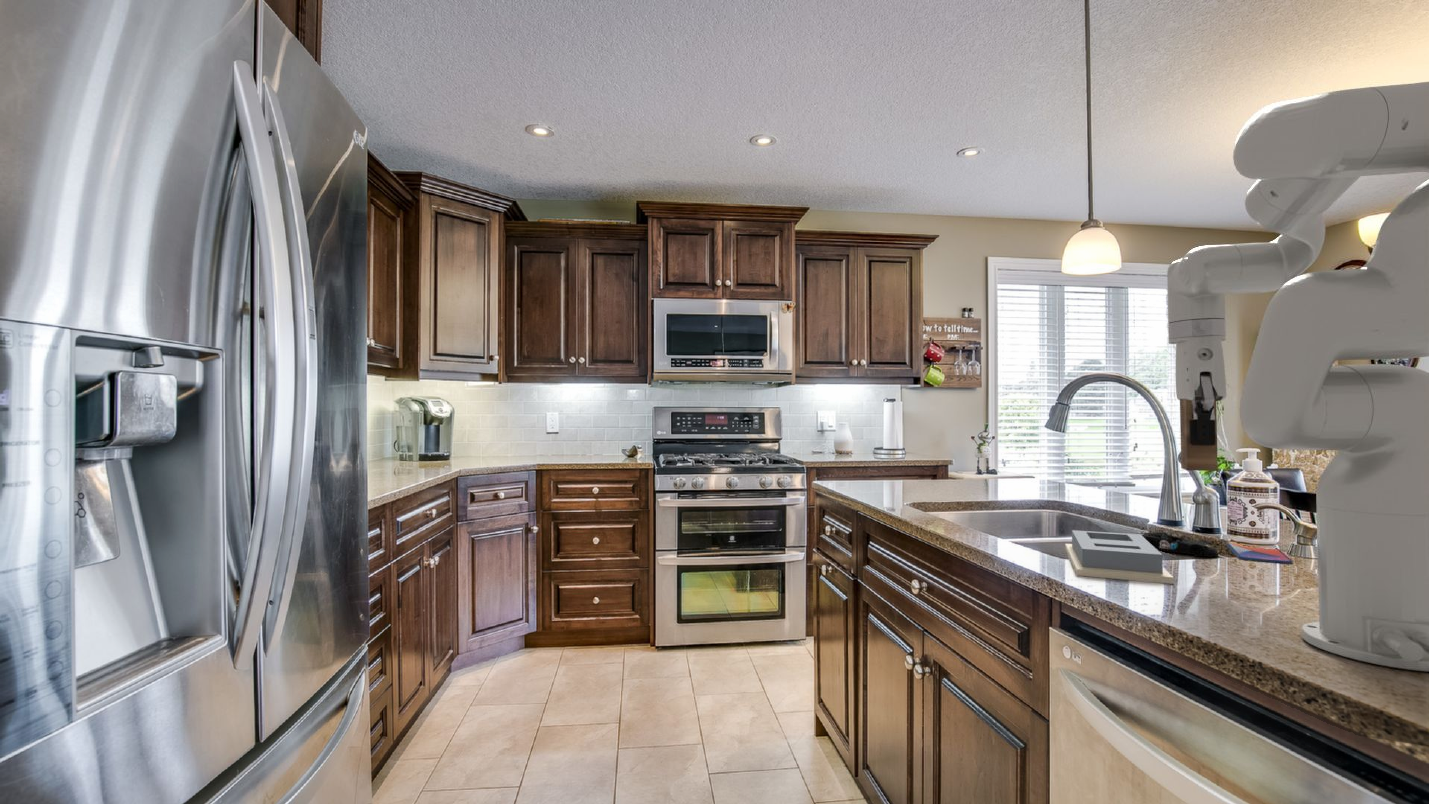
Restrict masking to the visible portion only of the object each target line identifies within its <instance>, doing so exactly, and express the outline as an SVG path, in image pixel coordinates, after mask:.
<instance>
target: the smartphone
mask: <svg viewBox="0 0 1429 804" xmlns="http://www.w3.org/2000/svg"><path fill="white" fill-rule="evenodd" d="M1230 541H1231V540H1227V541H1225V546H1226V547H1227V549H1228V550H1230V552H1231V553H1232V554H1233V555H1235V557H1236V558H1237V560H1238V559H1239V560H1242V561H1248V560H1252V562H1260V563H1261V562H1262V563H1265V562H1267V563H1274V564H1275V563H1276V564H1285V565H1293V560H1292V558H1290V557H1288V556H1287V555H1286V554H1285V553H1284V552H1283V551H1282V550H1280V549H1279V548H1278V547H1277V548H1275V549H1262V548H1254V547H1248V546H1243V545H1240V544H1237V543H1233V542H1230Z"/></svg>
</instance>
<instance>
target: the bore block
mask: <svg viewBox="0 0 1429 804" xmlns="http://www.w3.org/2000/svg"><path fill="white" fill-rule="evenodd" d="M1142 535H1143V534H1140V533H1139V534H1137V533H1123V532H1121V533H1120V532H1107V531H1088V530H1076V529H1075V530H1074V529H1071V541H1072V542H1071V543H1065V544H1064V545H1065V546H1064V547H1065V551H1066V553H1067V556H1068V558H1069V561H1070V562H1071V565H1072V568H1073V570H1074V572H1075V575H1076V576H1077V577H1078V576H1079V577H1080V576H1081V577H1088V578H1089V577H1092V578H1102V579H1103V578H1104V579H1113V580H1116V579H1117V580H1125V581H1137V582H1149V583H1160V584H1170V585H1172V584H1173V585H1174V583H1175V582H1174V580H1175V579H1174V576H1173V575H1172V574H1171V573H1170V572H1169V571H1168V570H1166V568H1165V567H1164V566H1163V553H1161V552H1160V550H1158V549H1156V548H1155V547H1154V546H1152V545H1151V544H1150V543H1149V542H1148V541H1147V540H1146V539H1145V538H1144V537H1143V536H1142Z"/></svg>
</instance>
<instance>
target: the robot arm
mask: <svg viewBox="0 0 1429 804" xmlns="http://www.w3.org/2000/svg"><path fill="white" fill-rule="evenodd" d="M1233 148H1234V149H1233V153H1232V154H1233V155H1232V156H1233V157H1232V159H1233V165H1234V167H1235V169H1236V171H1237V172H1238V173H1239V174H1240V175H1241V176H1243V177H1244V178H1247V179H1250V180H1256V181H1255V183H1254V184H1252V186H1251V187H1250V188H1249V190H1248V191H1247V193H1246V195H1245V198H1244V199H1245V200H1244V206H1245V210H1246V212H1247V214H1248V216H1249V217H1250V218H1251V219H1252V220H1253V221H1254V222H1255V223H1256V224H1257V225H1259V226H1260V227H1263V228H1264V229H1267V230H1269V231H1271V232H1273V233H1276V234H1278V235H1279V236H1278V237H1276V238H1275V239H1274V240H1272V241H1269V242H1249V243H1230V244H1228V243H1227V244H1212V245H1211V244H1210V245H1201V246H1198V247H1195V248H1192V249H1191V250H1189V251H1188V252H1187V253H1186V254H1185V255H1184V256H1183V257H1182V258H1180V259H1177V260H1175V261H1172V263H1170V264H1169V265H1168V267H1167V273H1166V274H1167V275H1166V277H1167V278H1166V279H1167V324H1168V325H1167V326H1168V329H1167V330H1168V333H1167V334H1168V344H1170V345H1176V346H1175V394H1176V395H1175V396H1176V398H1177V400H1179V401H1180V399H1185V398H1186V400H1188V401H1191V412H1192V420H1190V444H1191V445H1215V420H1214V419H1215V414H1214V396H1216V402H1222V401H1223V400H1225V399H1226V398H1227V383H1226V382H1227V381H1226V370H1225V359H1224V349H1223V344H1222V342H1224V341H1226V340H1227V337H1226V336H1227V335H1226V334H1227V331H1226V329H1227V328H1226V327H1227V326H1226V300H1225V299H1226V297H1225V296H1226V295H1235V294H1236V295H1237V294H1238V295H1239V294H1240V295H1241V294H1242V295H1243V294H1263V293H1264V294H1265V293H1271V292H1275V291H1277V292H1276V293H1275V294H1274V295H1273V296H1272V298H1271V300H1270V301H1269V303H1268V305H1267V307H1266V310H1265V311H1264V315H1263V317H1262V321H1261V324H1260V326H1259V327H1260V328H1259V331H1258V333H1257V337H1256V341H1255V345H1254V348H1253V352H1252V354H1251V355H1252V356H1251V359H1250V362H1249V366H1248V370H1247V373H1246V378H1245V380H1244V384H1243V388H1242V392H1241V397H1240V403H1239V418H1240V423H1241V426H1242V429H1243V431H1244V434H1246V435H1247V437H1248V438H1249V439H1250V440H1251V441H1253V442H1254V443H1256V444H1257V445H1260V446H1262V447H1265V448H1269V449H1273V450H1274V449H1275V450H1287V451H1288V450H1289V451H1337V452H1336V453H1335V455H1334V456H1333V457H1332V459H1331V460H1330V461H1329V462H1328V464H1327V465H1326V467H1325V469H1323V472H1322V473H1321V475H1320V477H1319V480H1318V482H1317V486H1316V500H1315V501H1316V540H1317V541H1316V543H1317V545H1316V546H1317V575H1318V577H1317V580H1318V581H1317V583H1318V616H1319V618H1318V619H1319V620H1318V621H1314V622H1308V623H1305V624H1303V625H1302V626H1301V627H1300V631H1301V632H1300V633H1301V638H1302V639H1303V640H1304V641H1305V642H1306V643H1308V644H1309V645H1312V646H1314V647H1316V648H1318V649H1320V650H1323V651H1326V652H1328V653H1331V654H1335V655H1339V656H1341V657H1344V658H1349V659H1350V660H1351V659H1352V660H1356V661H1359V662H1364V663H1369V664H1373V665H1379V666H1384V667H1389V668H1396V669H1402V670H1410V671H1417V672H1429V372H1428V371H1426V370H1423V369H1420V368H1416V367H1413V366H1407V365H1399V364H1389V363H1388V364H1386V363H1385V364H1384V363H1379V364H1378V363H1377V364H1376V363H1373V364H1372V363H1369V364H1365V363H1364V364H1362V363H1361V364H1335V363H1336V362H1338V361H1362V360H1363V361H1364V360H1368V361H1369V360H1370V361H1371V360H1400V359H1402V360H1404V359H1405V360H1406V359H1415V358H1416V359H1417V358H1426V357H1429V178H1428V179H1427V180H1425V181H1424V182H1423V183H1421V184H1420V185H1418V186H1417V187H1416V188H1415V189H1413V190H1412V191H1411V192H1409V193H1408V195H1406V196H1405V197H1404V198H1403V199H1402V201H1400V202H1399V203H1398V204H1397V205H1396V206H1395V207H1394V208H1393V210H1391V212H1390V213H1389V214H1388V215H1387V217H1386V218H1385V220H1384V221H1383V222H1382V224H1381V226H1380V228H1379V231H1378V234H1377V238H1376V241H1375V243H1374V247H1373V249H1372V252H1371V254H1370V256H1369V257H1368V259H1367V261H1366V263H1365V264H1364V265H1363V266H1361V267H1360V268H1353V269H1352V268H1351V269H1333V270H1332V269H1329V270H1320V271H1313V272H1307V273H1305V271H1307V270H1308V269H1309V268H1310V267H1311V266H1312V265H1313V264H1314V262H1316V260H1317V259H1318V257H1319V255H1320V253H1321V252H1322V248H1323V245H1324V242H1325V237H1326V222H1325V219H1324V216H1323V214H1324V213H1325V212H1327V210H1328V209H1330V207H1331V206H1332V205H1333V204H1334V203H1335V202H1337V200H1338V199H1339V198H1341V196H1342V195H1343V194H1345V192H1347V191H1348V189H1350V187H1352V186H1353V185H1354V184H1355V182H1357V181H1358V180H1359V179H1360V178H1361V177H1368V176H1369V177H1370V176H1383V175H1399V174H1408V173H1410V174H1413V173H1428V174H1429V81H1424V82H1423V81H1422V82H1414V83H1404V84H1403V83H1401V84H1391V85H1390V84H1389V85H1380V86H1379V85H1378V86H1368V87H1360V88H1359V87H1358V88H1357V87H1356V88H1349V89H1341V90H1334V91H1329V92H1325V93H1318V94H1314V95H1310V96H1306V97H1301V98H1296V99H1292V100H1291V99H1290V100H1286V101H1280V102H1276V103H1272V104H1270V105H1267V106H1265V107H1264V108H1261V110H1258V112H1256V113H1255V114H1254V115H1253V116H1251V118H1250V119H1249V120H1248V121H1246V123H1245V125H1244V126H1243V127H1242V129H1241V130H1240V132H1239V134H1238V135H1237V137H1236V141H1235V144H1234V147H1233ZM1195 397H1202V400H1195ZM1197 406H1198V407H1197Z"/></svg>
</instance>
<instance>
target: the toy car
mask: <svg viewBox="0 0 1429 804" xmlns="http://www.w3.org/2000/svg"><path fill="white" fill-rule="evenodd" d="M1141 535H1142V536H1143V537H1144V538H1145V539H1146V540H1147V541H1148V542H1149V543H1150V544H1151V545H1152V546H1154V547H1155V548H1156V549H1157V550H1158V551H1161V552H1162V551H1163V552H1170V553H1171V552H1172V553H1180V554H1187V555H1191V554H1192V555H1193V556H1195V557H1200V556H1203V557H1218V556H1219V555H1220V554H1219V553H1218V549H1217V548H1216V546H1214V545H1213V543H1212V542H1210V541H1208V540H1205V539H1200V540H1193V539H1191V538H1190V537H1189V536H1187V535H1183V536H1181V537H1177V536H1174V535H1171V534H1170V535H1169V534H1168V533H1167V532H1163V531H1160V532H1144V533H1143V534H1141Z"/></svg>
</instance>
